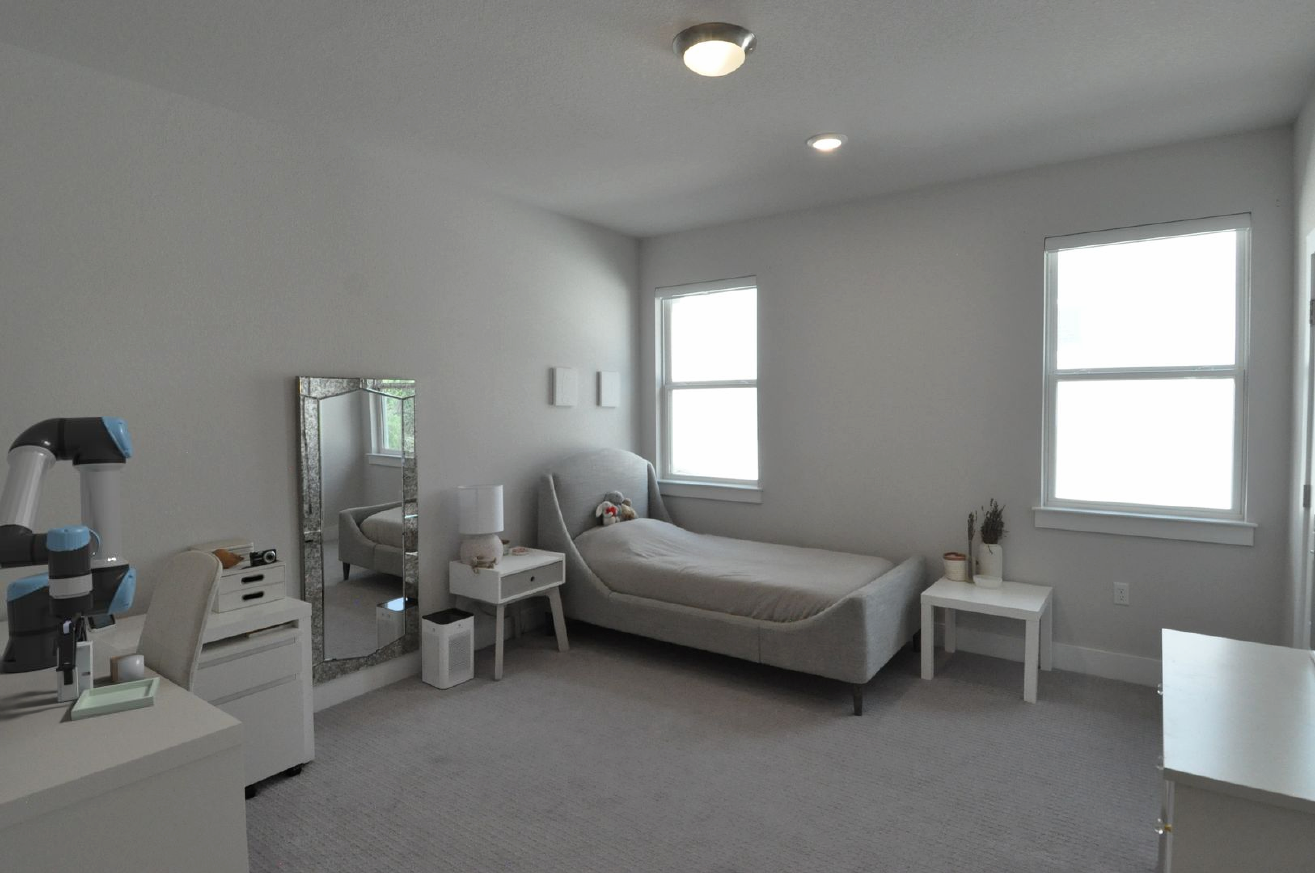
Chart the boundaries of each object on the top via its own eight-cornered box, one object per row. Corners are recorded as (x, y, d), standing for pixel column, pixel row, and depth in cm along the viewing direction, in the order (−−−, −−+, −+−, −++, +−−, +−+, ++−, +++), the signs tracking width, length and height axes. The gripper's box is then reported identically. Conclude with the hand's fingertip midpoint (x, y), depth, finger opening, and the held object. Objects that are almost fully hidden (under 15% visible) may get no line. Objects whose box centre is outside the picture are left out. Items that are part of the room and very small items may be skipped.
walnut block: (110, 677, 172) (109, 657, 172) (135, 672, 176) (134, 652, 175) (114, 682, 169) (113, 662, 168) (139, 677, 172) (138, 656, 172)
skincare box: (57, 703, 156) (54, 649, 156) (60, 696, 160) (58, 644, 160) (92, 696, 160) (90, 644, 159) (94, 690, 164) (92, 639, 163)
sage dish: (84, 698, 159) (84, 689, 159) (159, 685, 166) (159, 676, 166) (71, 720, 147) (71, 711, 147) (153, 705, 154) (153, 696, 154)
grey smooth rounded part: (120, 681, 169) (119, 657, 169) (145, 677, 171) (144, 653, 171) (117, 688, 164) (116, 663, 164) (143, 683, 167) (142, 659, 167)
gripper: (61, 586, 168) (65, 677, 168) (36, 608, 148) (41, 711, 148) (100, 582, 172) (104, 671, 172) (82, 602, 152) (86, 702, 152)
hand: (75, 689), depth 160 cm, fingers open, 11 cm apart
